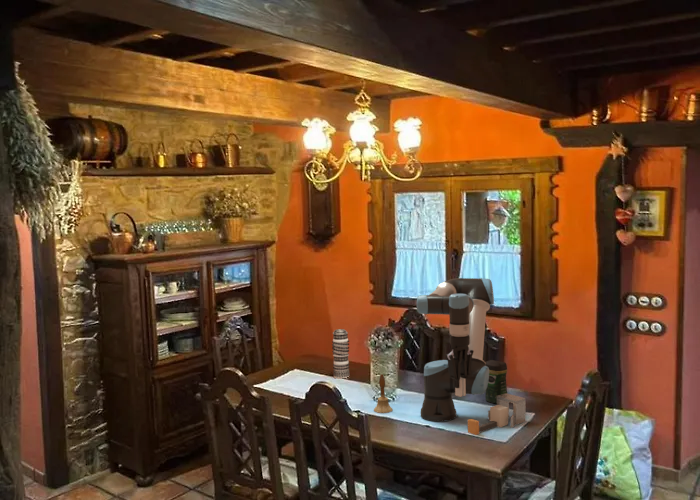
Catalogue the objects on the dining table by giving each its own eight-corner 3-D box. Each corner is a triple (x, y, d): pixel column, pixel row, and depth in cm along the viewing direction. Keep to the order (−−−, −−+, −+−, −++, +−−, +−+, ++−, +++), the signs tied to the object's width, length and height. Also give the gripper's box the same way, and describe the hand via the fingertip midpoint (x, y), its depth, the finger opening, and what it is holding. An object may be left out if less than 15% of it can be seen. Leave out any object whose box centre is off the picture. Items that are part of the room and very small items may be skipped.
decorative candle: (350, 379, 348) (348, 331, 346) (332, 379, 348) (331, 331, 346) (350, 374, 357) (349, 328, 355) (333, 374, 357) (331, 328, 355)
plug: (476, 435, 259) (476, 417, 259) (466, 432, 263) (466, 414, 263) (508, 424, 271) (508, 407, 270) (498, 421, 275) (498, 404, 274)
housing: (512, 428, 266) (512, 404, 266) (487, 420, 276) (487, 397, 276) (528, 422, 272) (528, 399, 272) (503, 415, 283) (503, 392, 282)
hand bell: (386, 414, 288) (386, 377, 287) (370, 411, 292) (369, 375, 291) (396, 409, 295) (395, 373, 294) (379, 406, 299) (378, 371, 298)
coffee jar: (510, 401, 301) (510, 361, 299) (499, 405, 296) (498, 364, 295) (493, 397, 308) (493, 357, 307) (482, 401, 303) (481, 360, 302)
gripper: (453, 338, 247) (454, 401, 249) (479, 333, 256) (480, 393, 258) (439, 335, 253) (440, 397, 255) (465, 330, 262) (466, 389, 264)
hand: (460, 395), depth 256 cm, fingers closed
